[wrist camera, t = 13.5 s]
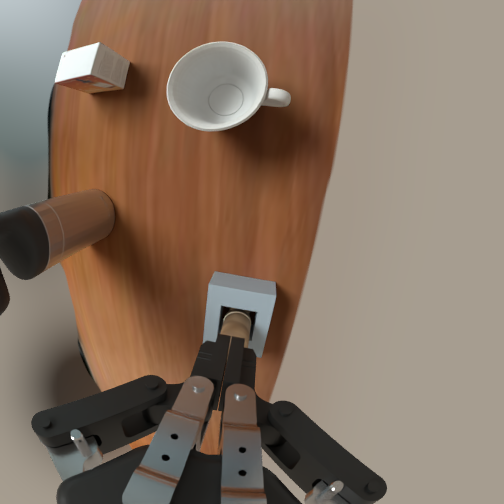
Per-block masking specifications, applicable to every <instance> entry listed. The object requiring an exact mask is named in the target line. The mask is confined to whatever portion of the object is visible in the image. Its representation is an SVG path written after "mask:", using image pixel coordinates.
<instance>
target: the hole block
mask: <svg viewBox="0 0 504 504" xmlns="http://www.w3.org/2000/svg"><path fill="white" fill-rule="evenodd" d="M275 300H276V282H272V281H266V280H261V279H255V278H249V277H243V276H238V275H232V274H227V273H221V272H216V271H215V272H214V274H213V276H212V278H211V281H210V283H209V287H208V296H207V305H206V315H205V325H204V335H203V343H204V342H205V341H207V340H208V341H212V342H216V338H217V335H218V334H220V333H221V329H222V325H223V321H224V319H222V313H223V306H226V307H232V308H237V309H243V310H249V311H255V312H256V313H255V318H254V322H253V324H251V327H250V335H249V344H248V348H250V349H253V350H254V352H255V354H256V357H260V358H261V357H262V353H263V349H264V345H265V341H266V337H267V333H268V329H269V325H270V321H271V317H272V312H273V308H274V304H275Z"/></svg>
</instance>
